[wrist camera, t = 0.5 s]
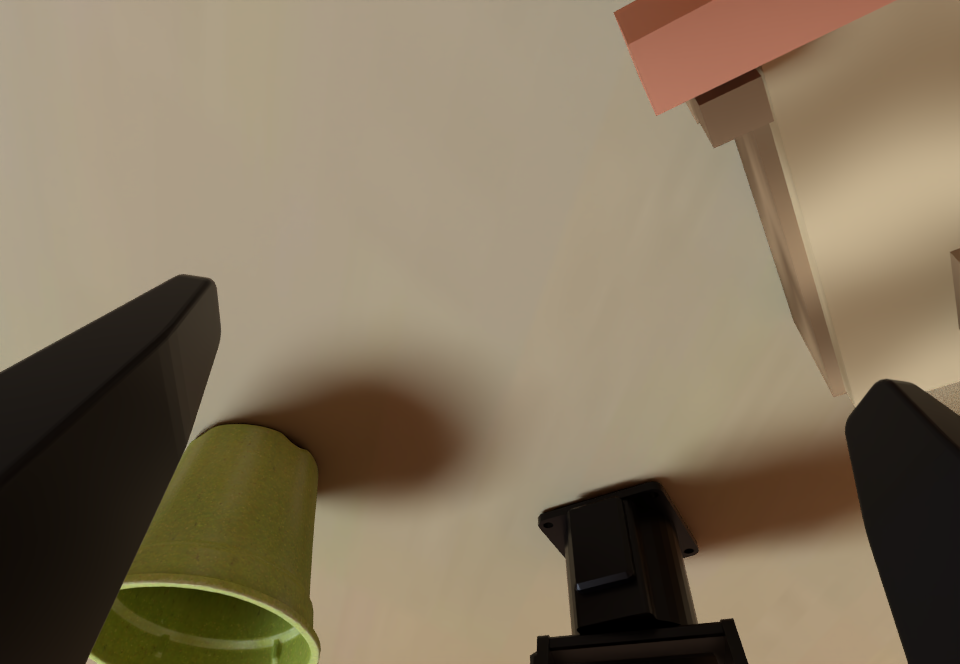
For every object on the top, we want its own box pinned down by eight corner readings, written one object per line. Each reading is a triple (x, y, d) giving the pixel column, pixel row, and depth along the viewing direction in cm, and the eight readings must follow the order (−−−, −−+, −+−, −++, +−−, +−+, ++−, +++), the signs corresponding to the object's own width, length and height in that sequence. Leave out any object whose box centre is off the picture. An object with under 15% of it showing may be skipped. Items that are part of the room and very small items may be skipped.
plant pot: (350, 401, 29) (306, 591, 22) (359, 525, 35) (327, 702, 28) (130, 387, 29) (21, 575, 22) (178, 514, 35) (104, 690, 28)
